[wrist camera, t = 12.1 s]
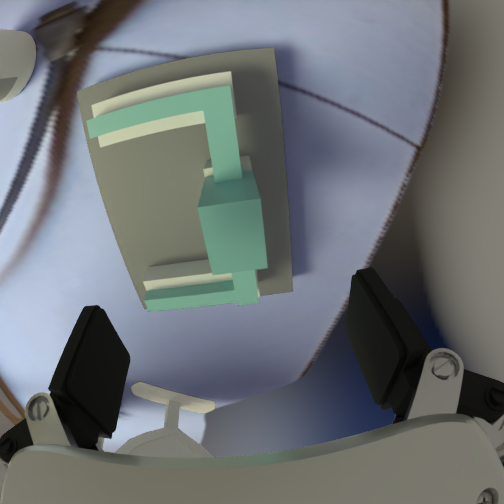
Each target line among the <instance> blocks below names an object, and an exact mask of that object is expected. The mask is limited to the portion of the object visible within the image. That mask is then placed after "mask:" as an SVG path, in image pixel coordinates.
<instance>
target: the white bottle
mask: <svg viewBox="0 0 504 504" xmlns="http://www.w3.org/2000/svg"><path fill="white" fill-rule="evenodd" d="M35 60H36V44H35V42H34V40H33V38H32V36H31V35H30V34H28V33H27V32H25V31H15V30H3V29H0V102H3V101H7V100H11V99H12V98H13V97H15V96H16V95H18V94H19V93H20V92H21V90H22V89H23V88H24V87H25V86H26V84H27V82H28V80H29V79H30V77H31V75H32V72H33V69H34V66H35Z"/></svg>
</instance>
